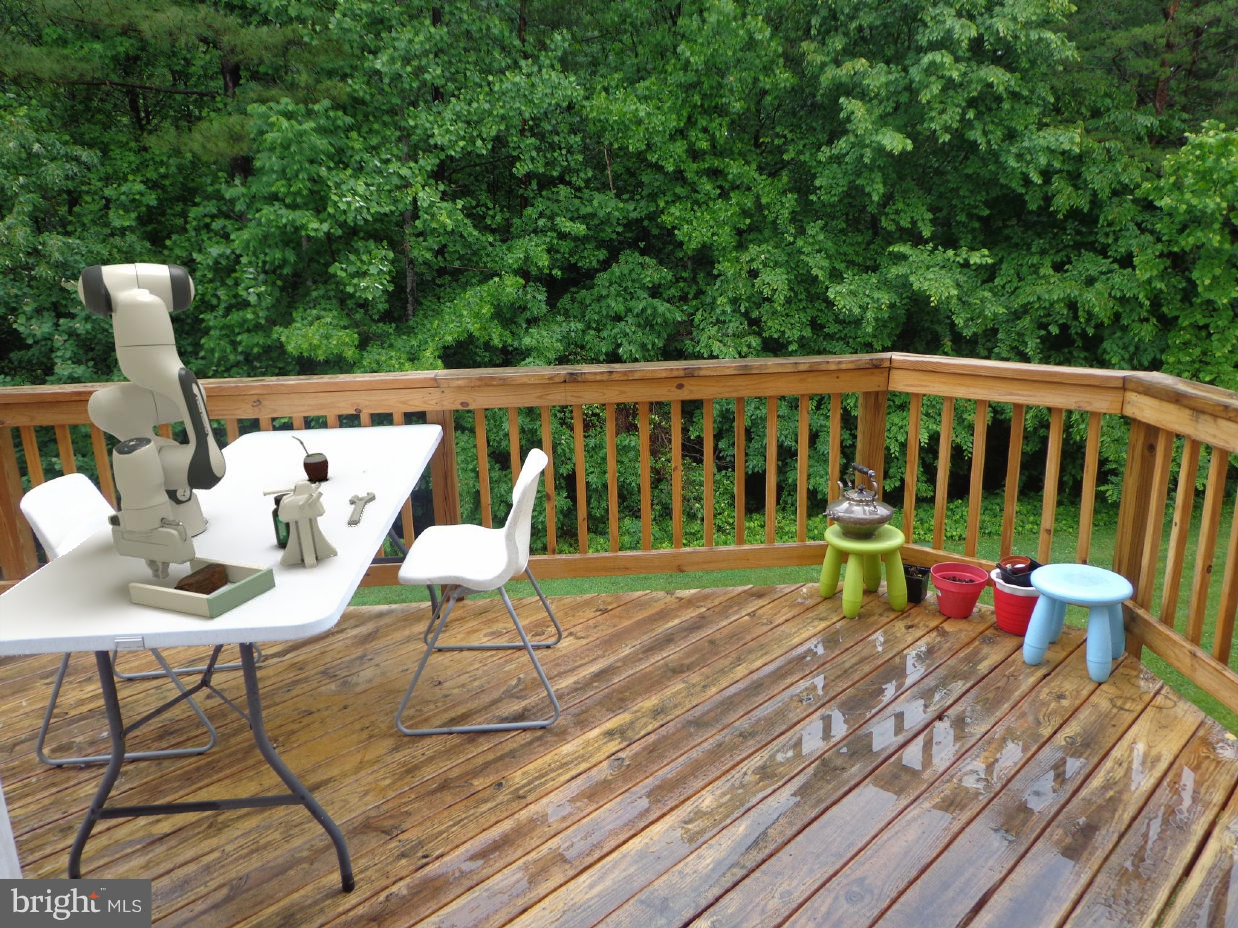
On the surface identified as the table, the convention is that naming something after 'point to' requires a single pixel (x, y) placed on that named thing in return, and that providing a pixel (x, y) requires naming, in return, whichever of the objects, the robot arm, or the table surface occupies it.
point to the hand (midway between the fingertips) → (161, 577)
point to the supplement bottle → (280, 524)
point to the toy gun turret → (303, 524)
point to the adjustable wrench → (359, 506)
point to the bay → (246, 588)
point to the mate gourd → (315, 465)
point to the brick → (204, 580)
